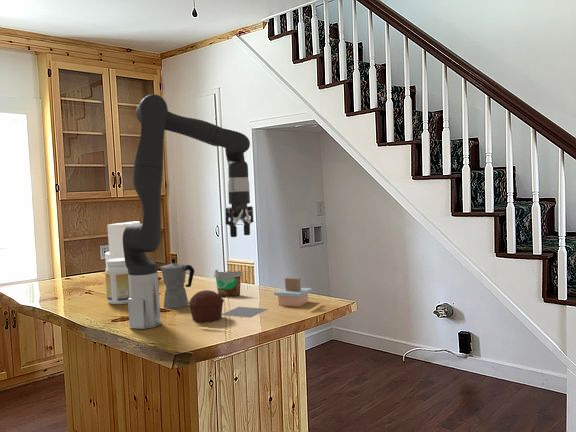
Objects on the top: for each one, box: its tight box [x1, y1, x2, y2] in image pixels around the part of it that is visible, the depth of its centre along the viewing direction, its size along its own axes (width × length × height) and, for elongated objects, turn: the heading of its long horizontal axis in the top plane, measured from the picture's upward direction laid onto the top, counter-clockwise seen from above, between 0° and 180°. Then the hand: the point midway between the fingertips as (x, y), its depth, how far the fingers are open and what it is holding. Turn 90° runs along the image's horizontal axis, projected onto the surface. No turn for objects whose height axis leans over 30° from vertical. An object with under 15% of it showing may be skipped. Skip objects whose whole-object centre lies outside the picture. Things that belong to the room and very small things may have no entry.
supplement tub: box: [104, 258, 130, 305], centre depth 219 cm, size 12×12×17 cm
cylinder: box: [104, 220, 141, 269], centre depth 270 cm, size 17×17×28 cm
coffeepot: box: [158, 257, 195, 310], centre depth 205 cm, size 15×9×18 cm, turn 66°
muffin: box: [188, 289, 225, 324], centre depth 180 cm, size 12×11×10 cm
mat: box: [221, 306, 268, 318], centre depth 188 cm, size 12×12×1 cm
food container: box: [213, 269, 243, 298], centre depth 220 cm, size 12×6×10 cm, turn 62°
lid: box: [273, 276, 313, 297], centre depth 197 cm, size 10×10×5 cm
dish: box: [277, 293, 309, 308], centre depth 198 cm, size 8×8×4 cm
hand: (240, 236), depth 197 cm, fingers open, 8 cm apart
